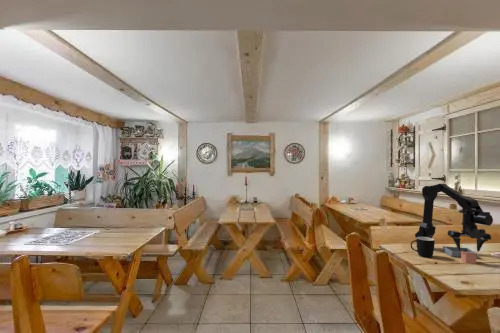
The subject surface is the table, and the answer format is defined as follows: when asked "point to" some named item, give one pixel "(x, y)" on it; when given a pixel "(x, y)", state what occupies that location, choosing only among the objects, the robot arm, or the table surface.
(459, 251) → the tray
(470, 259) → the red block
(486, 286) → the table surface
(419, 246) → the mug
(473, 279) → the table surface
